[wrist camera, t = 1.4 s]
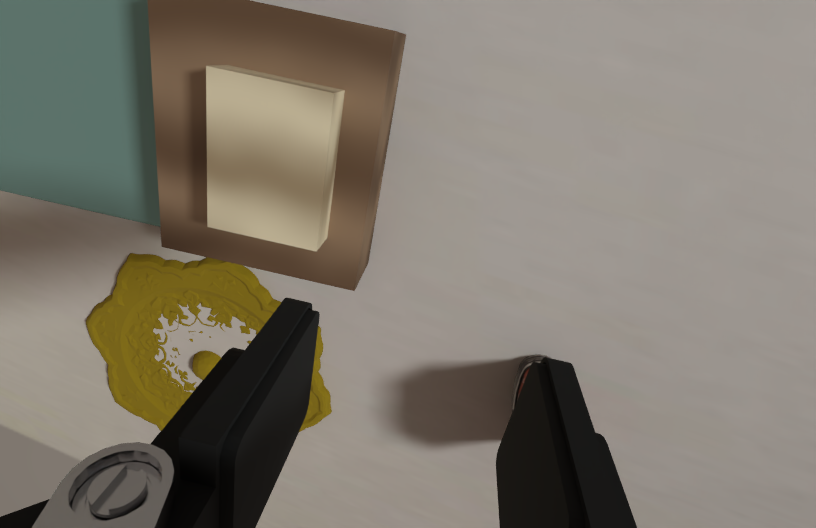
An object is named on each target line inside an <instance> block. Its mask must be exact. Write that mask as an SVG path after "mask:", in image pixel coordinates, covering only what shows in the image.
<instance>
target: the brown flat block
mask: <svg viewBox="0 0 816 528" xmlns="http://www.w3.org/2000/svg"><path fill="white" fill-rule="evenodd" d="M147 1H148V18H149V36H150V53H151V70H152V88H153V105H154V122H155V139H156V157H157V174H158V191H159V209H160V226H161V243H162V247H165V248H170V249H174V250H178V251H183V252H187V253H191V254H196V255H200V256H204V257H209V258H213V259H218V260H222V261H226V262H231V263H235V264H239V265H244V266H248V267H252V268H257V269H261V270H265V271H270V272H274V273H279V274H283V275H287V276H292V277H296V278H300V279H305V280H309V281H313V282H318V283H322V284H327V285H331V286H335V287H340V288H344V289H348V290H353V291H355V289H356V287H357V285H358V283H359V280H360V278H361V276H362V274H363V272H364V270H365V268H366V266H367V264H368V260H369V254H370V248H371V242H372V236H373V230H374V224H375V218H376V212H377V206H378V200H379V194H380V188H381V182H382V176H383V170H384V164H385V158H386V152H387V146H388V140H389V134H390V128H391V122H392V116H393V110H394V104H395V98H396V92H397V86H398V80H399V74H400V68H401V62H402V56H403V50H404V44H405V38H406V35H405V34H402V33H399V32H397V31H393V30H388V29H383V28H378V27H374V26H369V25H364V24H359V23H355V22H350V21H345V20H340V19H335V18H331V17H326V16H321V15H316V14H312V13H307V12H302V11H297V10H292V9H288V8H283V7H278V6H273V5H269V4H264V3H259V2H254V1H250V0H147ZM214 65H230V66H234V67H239V68H244V69H248V70H253V71H258V72H262V73H267V74H272V75H276V76H281V77H286V78H290V79H295V80H300V81H304V82H309V83H314V84H318V85H323V86H328V87H332V88H337V89H342V90H345V93H344V101H343V110H342V118H341V126H340V135H339V143H338V152H337V160H336V169H335V177H334V185H333V194H332V202H331V211H330V219H329V228H328V236H327V239H326V240H325V241H324V243H323V244H322V245H321V247H320V248H319V249H318V250H317V252H316V251H311V250H307V249H303V248H298V247H294V246H289V245H285V244H281V243H276V242H272V241H267V240H263V239H259V238H254V237H250V236H245V235H241V234H237V233H232V232H228V231H223V230H219V229H215V228H210V227H207V117H206V66H214Z"/></svg>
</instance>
